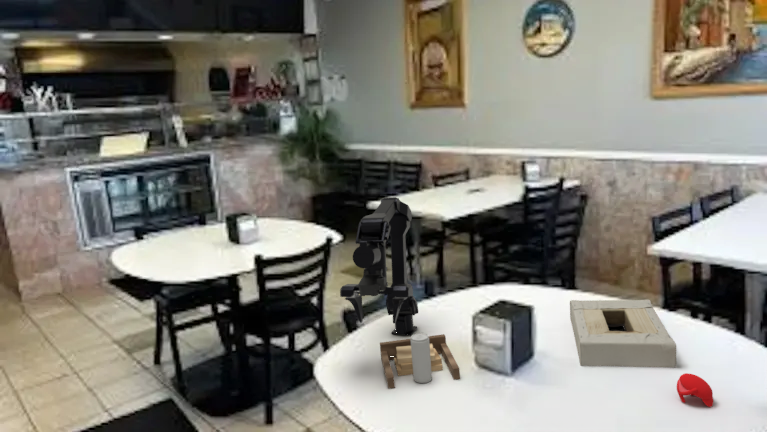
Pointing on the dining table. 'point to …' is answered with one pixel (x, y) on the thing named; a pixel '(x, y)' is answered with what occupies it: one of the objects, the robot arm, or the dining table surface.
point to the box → (621, 334)
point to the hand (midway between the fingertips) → (377, 322)
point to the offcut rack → (390, 346)
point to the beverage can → (421, 357)
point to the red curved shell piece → (694, 388)
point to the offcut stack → (405, 360)
